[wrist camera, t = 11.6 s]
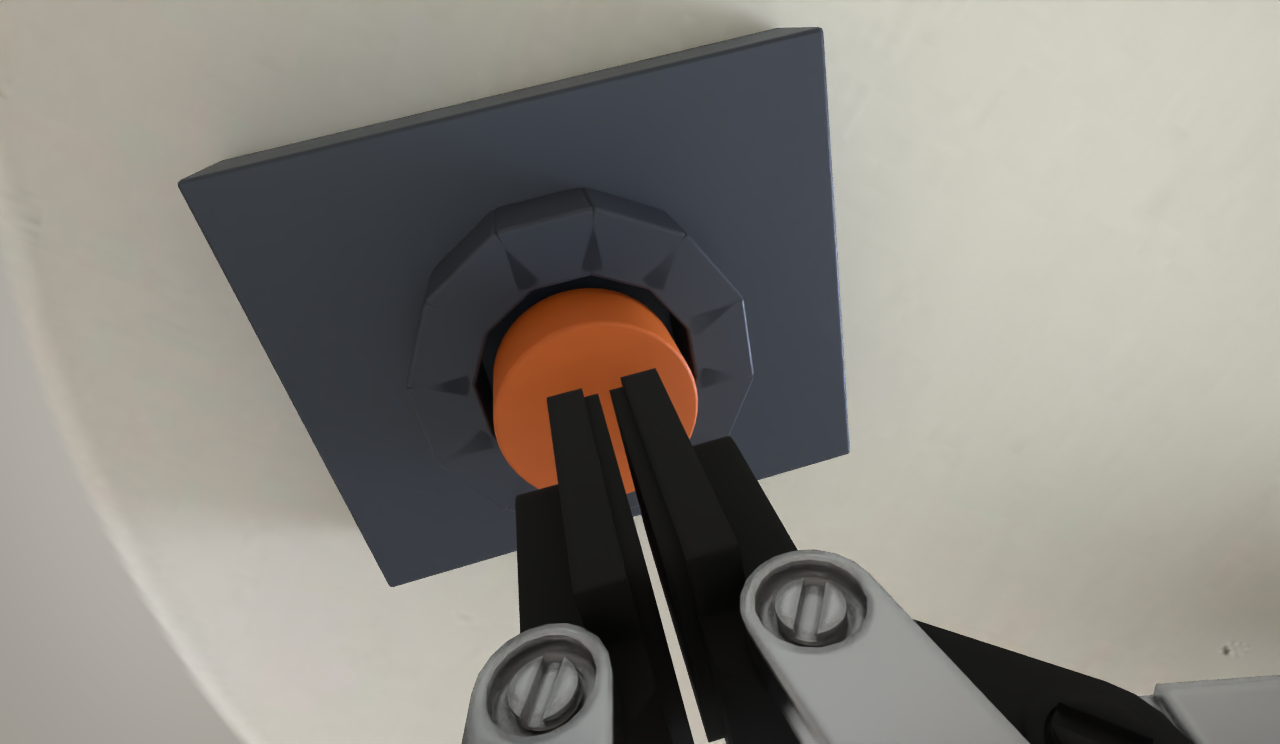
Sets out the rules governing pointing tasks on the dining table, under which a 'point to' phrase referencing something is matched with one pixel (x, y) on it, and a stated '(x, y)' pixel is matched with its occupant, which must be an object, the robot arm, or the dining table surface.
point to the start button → (579, 372)
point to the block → (542, 272)
